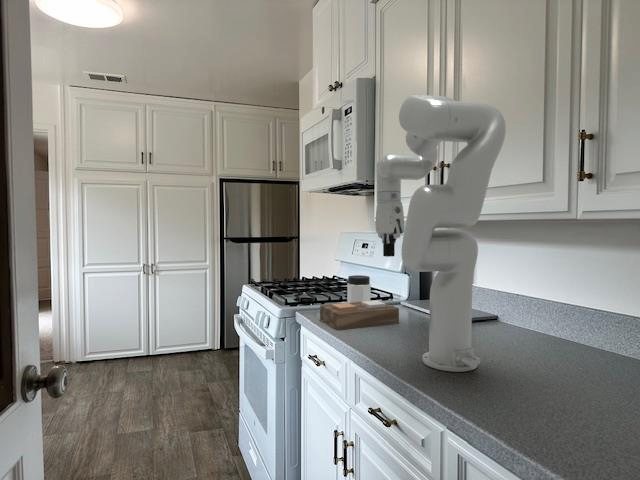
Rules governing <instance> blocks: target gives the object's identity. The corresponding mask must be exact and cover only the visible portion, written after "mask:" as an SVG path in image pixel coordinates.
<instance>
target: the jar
mask: <svg viewBox="0 0 640 480" xmlns="http://www.w3.org/2000/svg"><path fill="white" fill-rule="evenodd" d="M370 279H371V278H370V276H368V275H361V274H360V275H358V274H356V275H355V274H354V275H349V276H348V277H347V283H346V284H347V285H346V286H347V290H346V294H347V297H346V301H347V302H346V303H352V302H364V301H371V295H372V294H371V292H372V291H371V290H372V289H371V288H372V287H371V286H372V285H371V283H370Z"/></svg>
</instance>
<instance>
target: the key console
mask: <svg viewBox="0 0 640 480" xmlns="http://www.w3.org/2000/svg"><path fill="white" fill-rule="evenodd" d="M364 302H365V301H364ZM381 302H382V303H385V304H386V307H377V308H368V307H365V306H363V305H361V302H352V303H350V304H352V305H354V306H356V310H345V311H338V310H336V309H334V308H332V304H333V303H332V304H331V303H330V304H320V305H319V310H320V311H319V313H320V314H319V317H320V318H319V320H320V322H323V323H325V324H326V325H327V326H330V327H331V328H333V329H335V330H337V331H342V330H351V329H361V328H370V327H379V326H388V325H396V324H399V323H400V321H399V320H400V307H398V306H394V305H391V304H388V303H386V302H384V301H381Z"/></svg>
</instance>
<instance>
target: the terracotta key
mask: <svg viewBox="0 0 640 480" xmlns="http://www.w3.org/2000/svg"><path fill="white" fill-rule="evenodd" d="M332 308H334V309H336V310H338V311H345V310H356V306H354V305H352V304H350V303H347V302H343V303H332Z"/></svg>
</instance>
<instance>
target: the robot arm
mask: <svg viewBox="0 0 640 480" xmlns="http://www.w3.org/2000/svg"><path fill="white" fill-rule="evenodd" d="M398 120H399V121H398V122H399V126H400V128H402V129H403V130H404V131H406V134H405V142H406V146H407V148H409V150H410V151H411V152H412V153H413V154H411V153H410V154H409V153H388V154H385V155H384V156H383V157H382V158H381V159H378V160H377V162H376V209H375V210H376V211H375V232H376V233H377V237H378V238H379V239H381V243H382V246H383V248H382V250H383V251H382V252H383V253H382V254H383V255H382V256H383V257H386V258H387V257H395V255H396V254H395V252H396V251H395V247H396V246H395V244H396V242H397V239H399V238H401V234H403V237H402V243H401V249H400V250H401V261H402V263H403V266H404V267H405V268H406V269H408V270H409V271H411V272H416V273H417V272H419V273H420V272H423V273H426V272H437V273H436V275H435V277H434V278H433V281H432V282H431V285H430V289H429V290H430V291H429V326H428V327H429V329H428V330H429V333H428V334H429V335H428V342H429V343H428V351H427V352H425V353H423V354H422V358H421V359H422V362H423V364H424V365H426V366H427V367H430V368H432V369H435V370H439V371H444V372H452V373H455V372H456V373H459V372H461V373H463V372H469V371H473V370H475V369H477V368H478V366H479V365H480V364H481V362H482V359H481V358H480V357H478V356H475V354H474V353H475V349H474V348H473V347H472V324H473V323H472V321H473V320H472V319H473V318H472V316H473V315H472V314H473V313H472V312H473V309H472V308H473V285H474V284H473V281H474V276H475V275H474V274H475V270H476V269H475V268H476V263H477V260H478V255H479V246H478V243H477V240H476V238H475V237H474V236H473V235H472V234H470V233H469V232H467V231H464V230H461V229H460V228H462V229H463V228H468V227H472V226H474V225H475V224H476V223H477V222H479V219H480V217H481V213H482V210H483V206H484V201H485V198H486V196H487V195H486V194H487V190H488V186H489V183H490V177H491V175H492V171H493V168H494V166H495V163H496V161H497V158H498V156H499V155H500V152H501V150H502V147H503V145H504V142H505V137H506V128H507V127H506V120H505V117H504V115H503V113H502V112H501V111H500V110H499V109H498V108H497V107H495V106H493V105H490V104H486V103H481V102H475V101H456V100H455V99H453V98H452V97H449V96H442V95H429V94H412V95H410V96H407V98H406V99H405V100H404V101H403V102H402V105H401V106H400V109H399V113H398ZM441 142H452V143H457V142H458V143H466V144H467V145H466V146H464V147H463V148H462V149H461V150H460V151H459V152H458V153H457V155H456V156H455V157H454V159H453V160H452V162H451V164H450V168H449V173H448V177H447V180H446V182H445V183H444V184H425V185H422V186H420V187H418V188H417V189H416V190H415V191H414V192H413V194H412V196H411V198H410V201H409V204H408V209H407V215H406V220H405V213H404V206H403V202H402V199H401V198H402V194H401V192H402V187H401V186H402V185H401V183H402V181H401V180H406V181H407V180H410V181H411V180H412V181H414V180H415V181H417V180H418V181H419V180H422V179H424V178H426V177H427V176H428V175H429V174H430V173H431V172H432V171H433V169H434V168H435V166H436V165H437V161H438V154H439V153H438V146H439V144H440V143H441ZM442 228H443V229H442ZM444 228H445V229H444ZM453 228H454V229H453ZM455 228H456V229H455ZM458 228H459V229H460V230H459V229H458ZM435 229H437V230H435Z"/></svg>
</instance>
